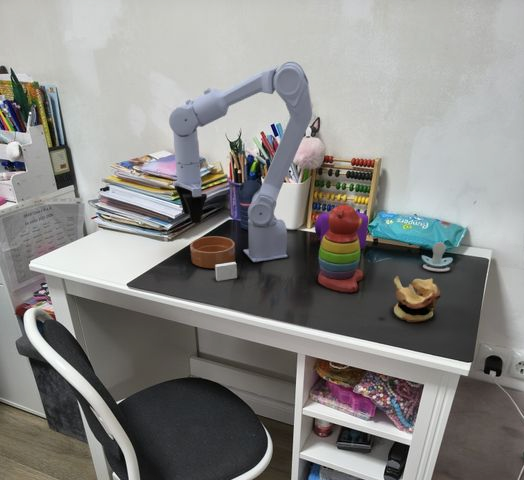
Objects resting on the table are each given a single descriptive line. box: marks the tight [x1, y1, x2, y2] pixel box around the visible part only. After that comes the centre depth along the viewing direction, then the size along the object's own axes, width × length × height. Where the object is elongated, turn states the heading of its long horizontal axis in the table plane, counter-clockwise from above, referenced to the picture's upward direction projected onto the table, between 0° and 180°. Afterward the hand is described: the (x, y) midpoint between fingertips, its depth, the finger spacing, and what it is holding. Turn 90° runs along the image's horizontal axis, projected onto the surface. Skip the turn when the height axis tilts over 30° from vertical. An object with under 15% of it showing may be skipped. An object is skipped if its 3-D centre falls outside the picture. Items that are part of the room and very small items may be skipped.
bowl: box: [189, 235, 236, 269], centre depth 125 cm, size 11×11×4 cm
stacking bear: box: [317, 202, 364, 294], centre depth 112 cm, size 11×10×18 cm
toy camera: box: [314, 211, 369, 250], centre depth 131 cm, size 11×14×10 cm
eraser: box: [214, 261, 238, 282], centre depth 117 cm, size 1×5×4 cm, turn 111°
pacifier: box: [421, 241, 454, 273], centre depth 121 cm, size 7×6×6 cm
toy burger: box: [393, 275, 442, 323], centre depth 101 cm, size 12×10×8 cm
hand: (192, 217), depth 126 cm, fingers open, 7 cm apart
